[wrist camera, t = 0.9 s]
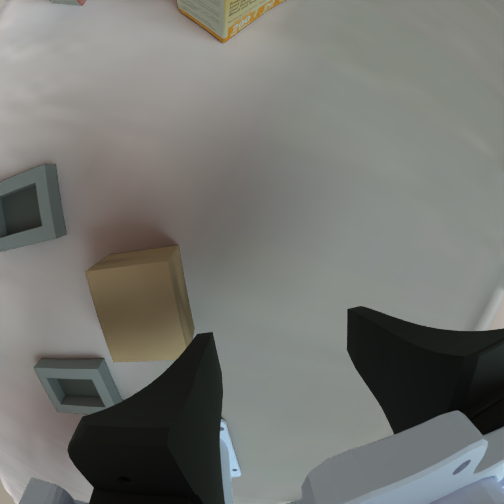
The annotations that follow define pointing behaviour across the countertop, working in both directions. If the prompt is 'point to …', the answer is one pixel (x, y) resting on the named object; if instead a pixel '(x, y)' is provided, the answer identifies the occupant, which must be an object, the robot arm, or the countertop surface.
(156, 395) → the robot arm
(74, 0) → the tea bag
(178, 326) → the tan block
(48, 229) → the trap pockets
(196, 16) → the supplement box
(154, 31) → the countertop surface
